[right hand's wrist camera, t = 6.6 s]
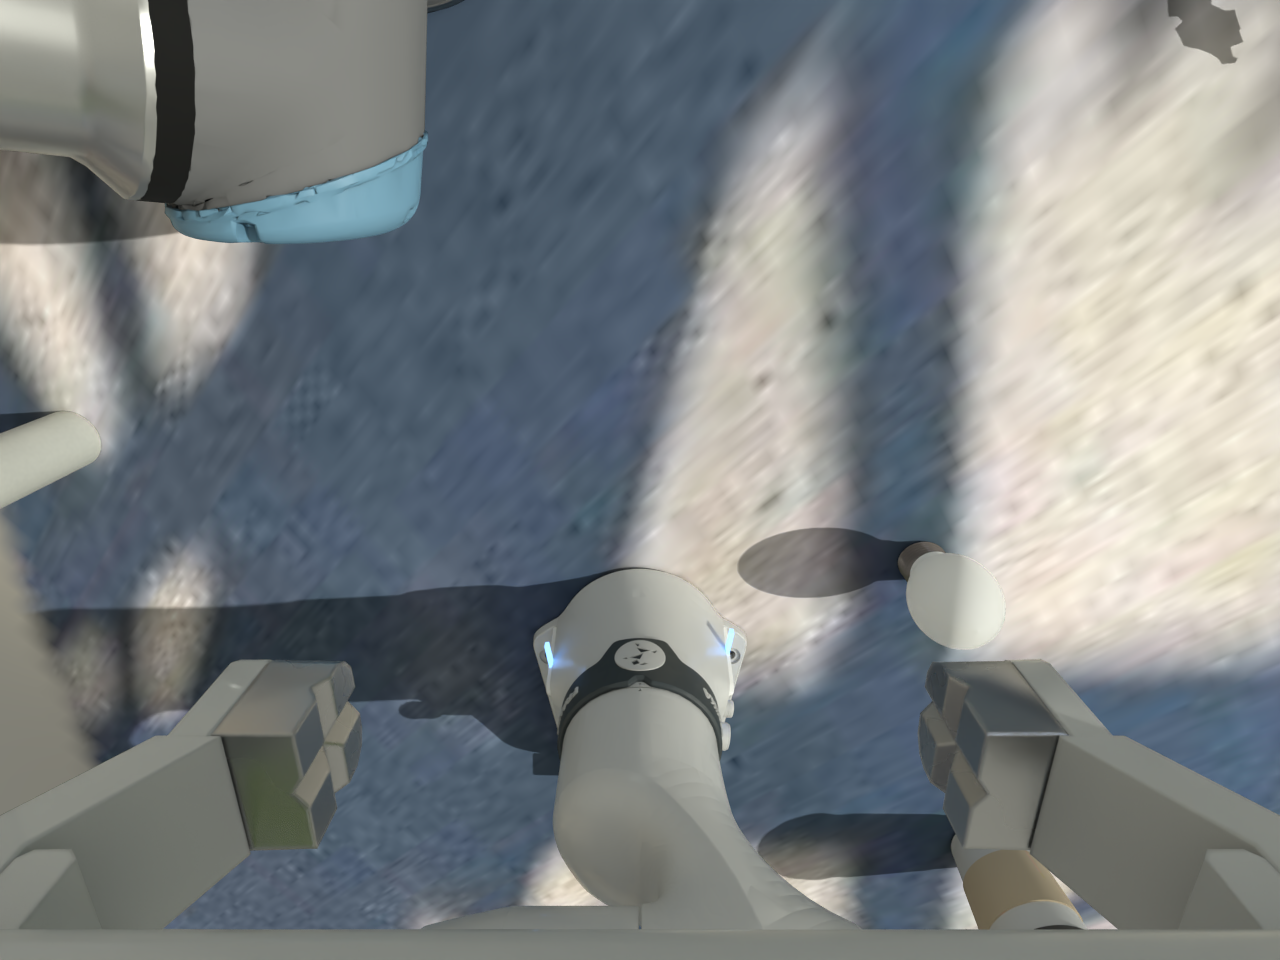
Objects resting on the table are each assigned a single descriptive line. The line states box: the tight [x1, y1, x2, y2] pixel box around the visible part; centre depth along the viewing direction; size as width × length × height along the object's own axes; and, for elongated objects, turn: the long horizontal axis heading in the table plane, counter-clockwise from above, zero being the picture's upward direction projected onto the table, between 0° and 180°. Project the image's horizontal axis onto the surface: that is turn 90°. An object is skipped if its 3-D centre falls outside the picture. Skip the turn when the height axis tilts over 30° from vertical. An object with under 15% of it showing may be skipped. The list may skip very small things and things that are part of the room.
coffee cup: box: [951, 834, 1088, 930], centre depth 68 cm, size 9×9×15 cm
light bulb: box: [898, 542, 1006, 650], centre depth 58 cm, size 7×7×11 cm
